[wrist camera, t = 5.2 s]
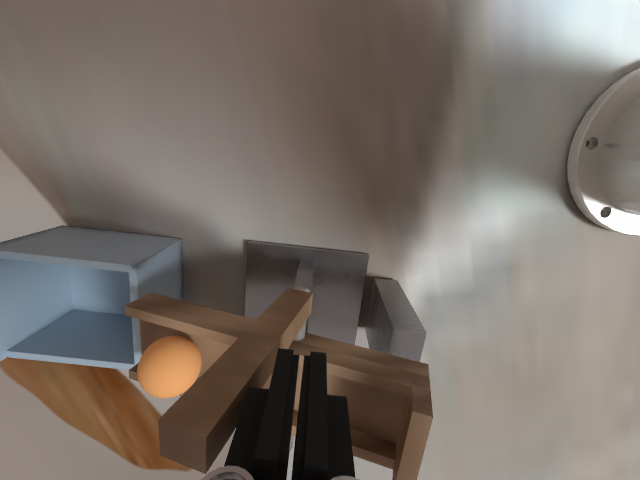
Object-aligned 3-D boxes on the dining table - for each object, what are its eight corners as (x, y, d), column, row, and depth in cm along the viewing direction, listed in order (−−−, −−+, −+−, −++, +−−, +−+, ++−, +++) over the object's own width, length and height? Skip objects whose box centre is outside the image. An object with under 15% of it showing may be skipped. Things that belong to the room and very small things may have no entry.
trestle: (400, 257, 26) (439, 310, 17) (383, 349, 29) (409, 437, 20) (249, 240, 26) (210, 285, 17) (244, 334, 28) (208, 416, 19)
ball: (210, 347, 16) (141, 368, 14) (209, 396, 17) (144, 422, 15) (192, 319, 19) (131, 333, 17) (192, 364, 20) (134, 382, 18)
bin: (181, 238, 26) (97, 289, 16) (182, 322, 28) (108, 410, 19) (62, 225, 26) (-94, 268, 16) (72, 310, 28) (-60, 393, 18)
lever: (439, 317, 15) (482, 540, 6) (400, 477, 18) (391, 790, 9) (149, 252, 19) (-79, 330, 10) (155, 391, 22) (-19, 548, 13)
